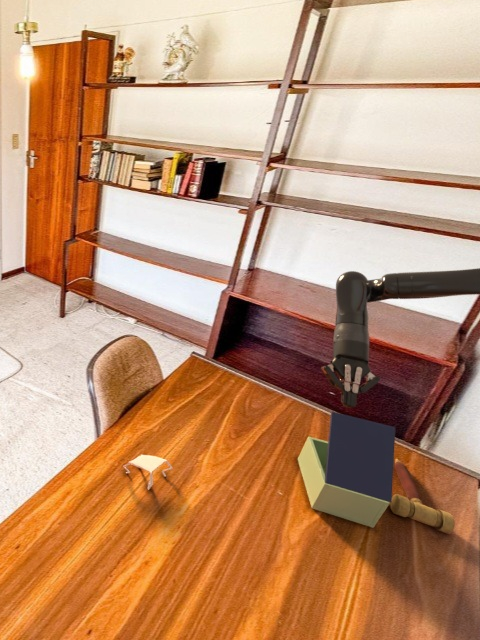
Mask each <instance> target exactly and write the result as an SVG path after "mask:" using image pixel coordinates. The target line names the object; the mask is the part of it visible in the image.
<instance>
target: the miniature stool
mask: <svg viewBox="0 0 480 640" xmlns="http://www.w3.org/2000/svg"><path fill="white" fill-rule="evenodd" d="M164 464H166V466H168V468H166V469H163V470H161V473H162V475H163V477H167V475H166V473H165V472H166V471H169V470H173V469H174V467H173V466H172V464H171V463H170V462H169V461H168V460H167V459H165V458H162V457H159V456H155V455H149V454H140V455H138V456H137V457H136V458H134V459H132V460H130V461H128V462H127V463H125V464H123V465H122V467H123V468H124V469H125V471H126V472H125V474H130V473H131V471H130V470H129V469H128V468H127V467H128V466H131V465H132V466H134V467H137V468H138V469H141V470H143V471H145V472H148V473H149V481H148V482H147V490H148V491H149V490H150V489H151V487H153V485H154V472H155V471H156V470H158V469H159V468H160V467H161V466H162V465H164Z"/></svg>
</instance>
